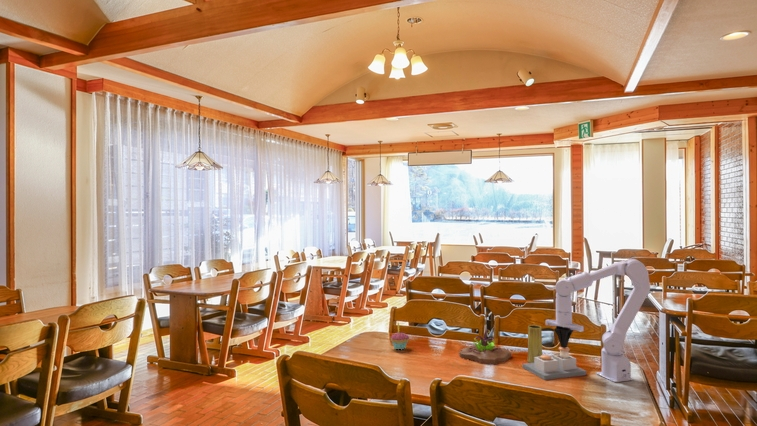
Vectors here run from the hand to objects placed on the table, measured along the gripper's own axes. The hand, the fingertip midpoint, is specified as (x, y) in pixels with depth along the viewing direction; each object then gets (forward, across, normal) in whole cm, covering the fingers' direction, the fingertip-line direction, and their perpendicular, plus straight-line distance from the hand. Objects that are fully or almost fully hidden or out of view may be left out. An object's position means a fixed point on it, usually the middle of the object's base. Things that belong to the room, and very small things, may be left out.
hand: (564, 347), depth 175 cm
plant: (+10, +31, +8) cm, 34 cm away
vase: (+9, +14, -1) cm, 17 cm away
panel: (+9, +2, +3) cm, 10 cm away
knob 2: (+5, 0, 0) cm, 5 cm away
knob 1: (+8, +3, +7) cm, 11 cm away
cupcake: (+9, +62, +30) cm, 69 cm away
